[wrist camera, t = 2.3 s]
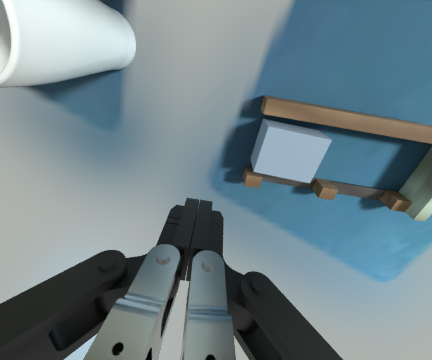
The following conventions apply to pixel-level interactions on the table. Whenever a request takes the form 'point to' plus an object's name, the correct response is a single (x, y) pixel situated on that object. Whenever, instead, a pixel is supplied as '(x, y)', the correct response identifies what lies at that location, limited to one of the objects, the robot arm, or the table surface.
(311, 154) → the brick
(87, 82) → the table surface
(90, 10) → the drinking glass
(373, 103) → the table surface
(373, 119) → the lane
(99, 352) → the robot arm
